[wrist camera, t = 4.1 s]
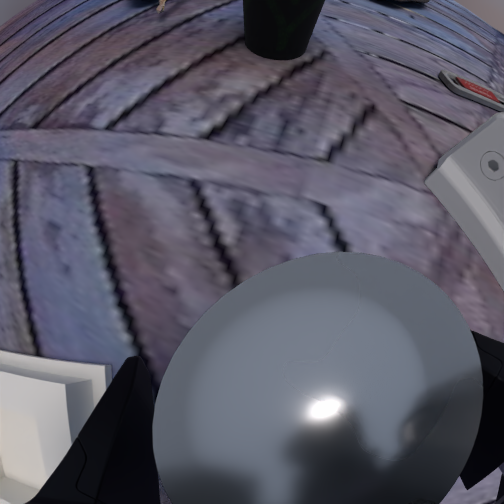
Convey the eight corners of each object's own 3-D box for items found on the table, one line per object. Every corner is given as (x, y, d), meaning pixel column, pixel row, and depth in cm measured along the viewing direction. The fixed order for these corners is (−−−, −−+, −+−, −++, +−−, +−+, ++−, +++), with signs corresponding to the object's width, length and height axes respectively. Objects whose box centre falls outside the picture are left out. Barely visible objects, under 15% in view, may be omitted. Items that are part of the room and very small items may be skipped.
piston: (305, 406, 15) (470, 515, 3) (213, 412, 15) (168, 580, 2) (300, 318, 16) (473, 239, 4) (209, 322, 16) (136, 244, 4)
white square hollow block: (136, 537, 11) (119, 570, 8) (-4, 491, 10) (-33, 505, 7) (111, 364, 15) (78, 369, 11) (-27, 343, 14) (-64, 337, 10)
